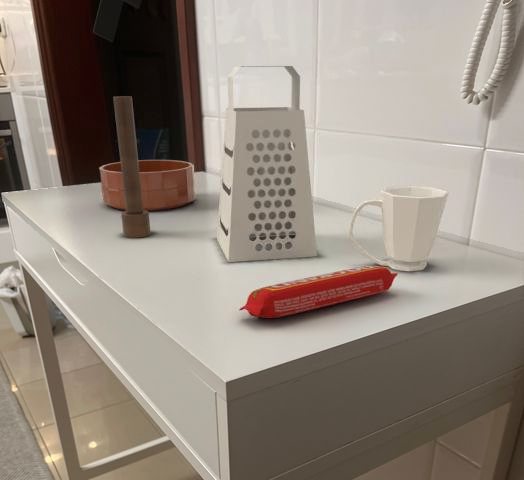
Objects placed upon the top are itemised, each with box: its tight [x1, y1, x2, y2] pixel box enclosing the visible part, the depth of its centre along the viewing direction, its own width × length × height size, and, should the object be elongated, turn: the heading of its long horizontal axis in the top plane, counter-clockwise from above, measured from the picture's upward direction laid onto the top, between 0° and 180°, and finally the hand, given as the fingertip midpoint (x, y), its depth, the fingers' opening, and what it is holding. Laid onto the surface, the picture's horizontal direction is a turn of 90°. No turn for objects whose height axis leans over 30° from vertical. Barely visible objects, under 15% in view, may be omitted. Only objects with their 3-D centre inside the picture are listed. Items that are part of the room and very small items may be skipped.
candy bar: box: [239, 265, 399, 319], centre depth 50 cm, size 16×4×3 cm, turn 121°
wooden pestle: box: [112, 95, 152, 239], centre depth 72 cm, size 4×4×17 cm
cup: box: [348, 185, 449, 272], centre depth 60 cm, size 7×10×8 cm
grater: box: [216, 65, 318, 263], centre depth 65 cm, size 10×10×20 cm
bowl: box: [98, 159, 196, 212], centre depth 93 cm, size 15×15×6 cm
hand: (114, 21), depth 69 cm, fingers open, 13 cm apart
